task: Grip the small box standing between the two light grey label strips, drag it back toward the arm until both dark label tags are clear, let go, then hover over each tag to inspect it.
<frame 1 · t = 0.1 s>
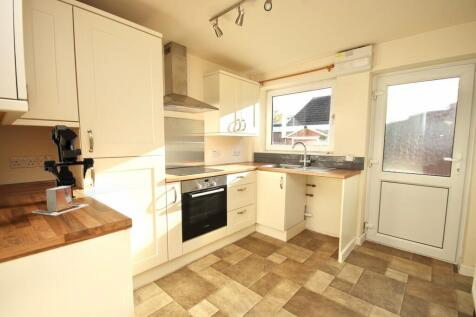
hand: (72, 180, 103), 15 cm above the counter, tool tilted 30°, fingers open, 9 cm apart
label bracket: (60, 208, 107), on the counter
small box: (60, 209, 108), on the counter
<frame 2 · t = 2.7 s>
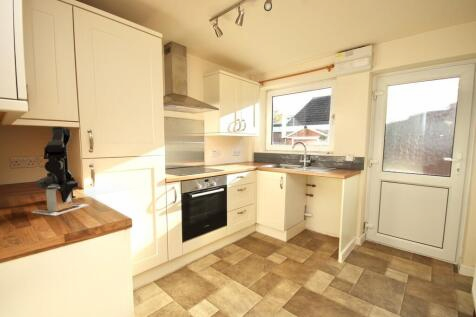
hand: (59, 201, 107), 4 cm above the counter, tool pointing down, fingers closed on small box, 6 cm apart
small box: (60, 209, 107), on the counter, touching gripper
when the fingers open (4 cm above the counter, at t = 3.7 s): small box moves 6 cm, on the counter.
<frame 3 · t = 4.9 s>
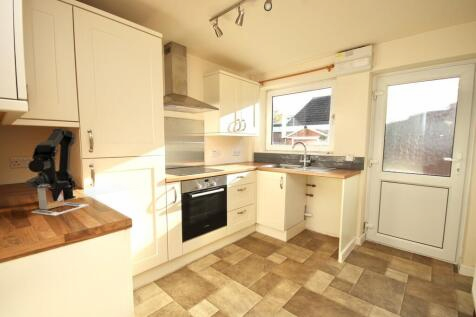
hand: (51, 200, 109), 3 cm above the counter, tool pointing down, fingers open, 6 cm apart
small box: (52, 207, 109), on the counter, touching gripper
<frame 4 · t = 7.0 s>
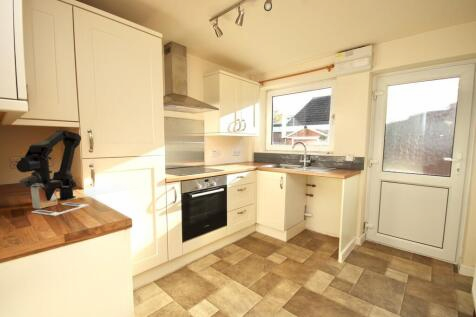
hand: (44, 200, 111), 3 cm above the counter, tool pointing down, fingers closed on small box, 5 cm apart
small box: (45, 206, 111), on the counter, touching gripper
when the fingers open (3 cm above the counter, at t = 7.1 s): small box stays where it is, on the counter.
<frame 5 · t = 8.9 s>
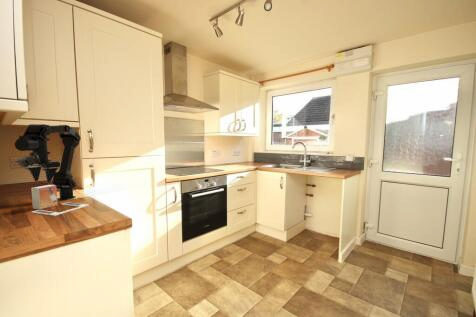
hand: (42, 181, 109), 13 cm above the counter, tool pointing down, fingers open, 9 cm apart
small box: (45, 207, 111), on the counter
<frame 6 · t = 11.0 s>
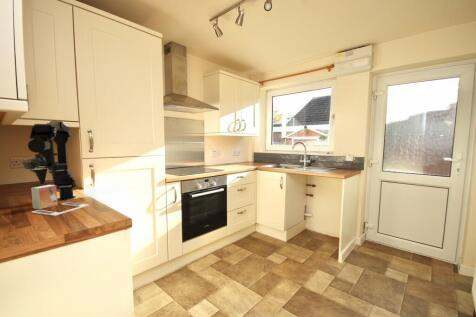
hand: (49, 184, 103), 13 cm above the counter, tool pointing down, fingers open, 9 cm apart
nothing on the counter moved.
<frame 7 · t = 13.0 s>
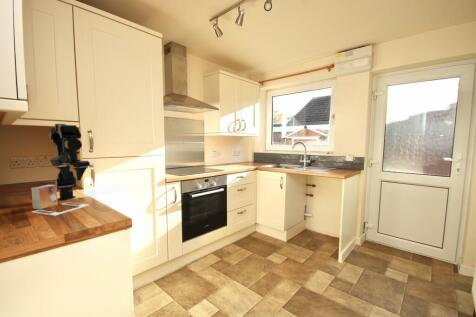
hand: (72, 180, 113), 13 cm above the counter, tool pointing down, fingers open, 9 cm apart
nothing on the counter moved.
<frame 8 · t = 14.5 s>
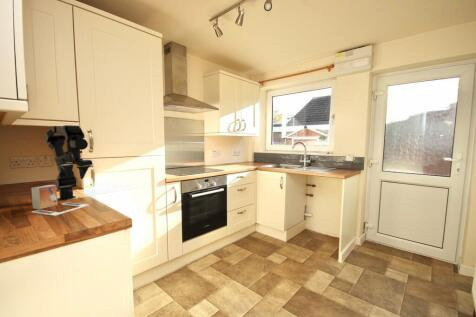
hand: (75, 178, 117), 13 cm above the counter, tool pointing down, fingers open, 9 cm apart
nothing on the counter moved.
at the end: small box inside the target area (0.3 cm from its centre), on the counter; small box tilted 0°; the gripper is holding nothing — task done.
